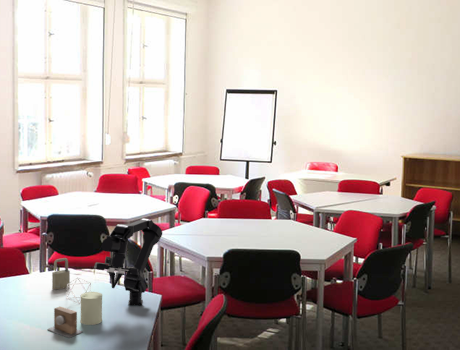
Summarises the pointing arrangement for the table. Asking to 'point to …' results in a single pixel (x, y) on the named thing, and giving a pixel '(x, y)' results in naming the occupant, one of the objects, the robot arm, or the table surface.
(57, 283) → the padlock
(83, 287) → the geometric polyhedron
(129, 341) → the table surface
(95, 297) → the can
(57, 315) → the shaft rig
